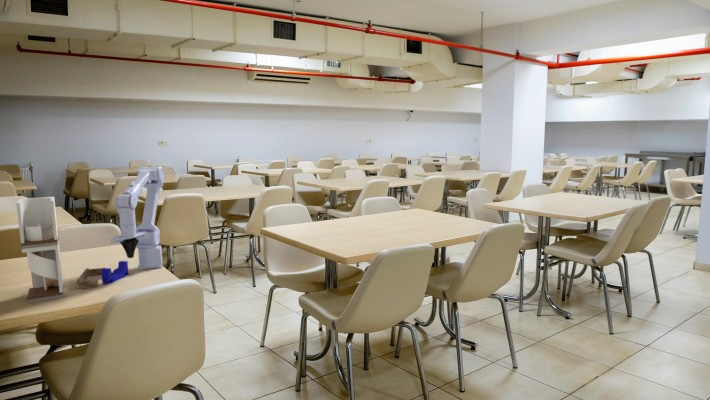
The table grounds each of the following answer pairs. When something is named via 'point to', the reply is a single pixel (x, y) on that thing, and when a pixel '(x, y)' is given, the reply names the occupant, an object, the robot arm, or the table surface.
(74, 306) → the table surface
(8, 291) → the table surface
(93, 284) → the frame
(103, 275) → the cable clip
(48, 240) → the display case
